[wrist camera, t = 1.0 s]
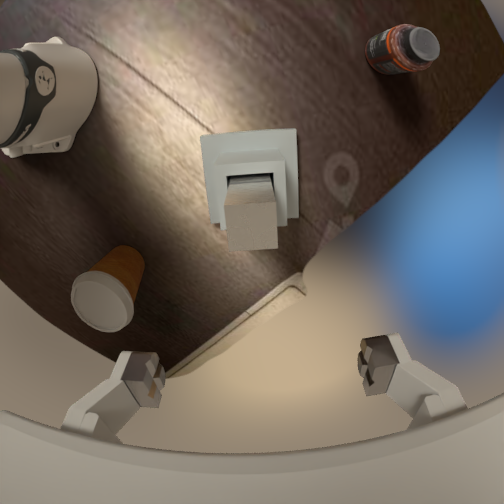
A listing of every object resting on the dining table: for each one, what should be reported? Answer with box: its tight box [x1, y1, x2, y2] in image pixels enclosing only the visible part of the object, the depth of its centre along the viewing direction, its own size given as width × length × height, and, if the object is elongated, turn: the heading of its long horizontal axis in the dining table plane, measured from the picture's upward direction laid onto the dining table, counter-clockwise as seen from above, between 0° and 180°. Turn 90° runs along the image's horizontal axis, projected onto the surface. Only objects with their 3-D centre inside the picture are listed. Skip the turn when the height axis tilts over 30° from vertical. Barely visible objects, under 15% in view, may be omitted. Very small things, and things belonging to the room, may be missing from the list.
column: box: [224, 173, 278, 252], centre depth 31 cm, size 4×4×16 cm
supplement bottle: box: [365, 24, 440, 75], centre depth 26 cm, size 6×6×11 cm
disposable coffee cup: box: [71, 245, 145, 332], centre depth 40 cm, size 10×10×12 cm
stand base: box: [200, 128, 299, 230], centre depth 35 cm, size 12×12×10 cm
